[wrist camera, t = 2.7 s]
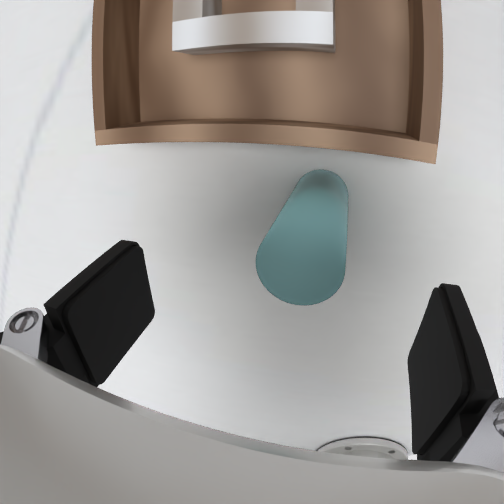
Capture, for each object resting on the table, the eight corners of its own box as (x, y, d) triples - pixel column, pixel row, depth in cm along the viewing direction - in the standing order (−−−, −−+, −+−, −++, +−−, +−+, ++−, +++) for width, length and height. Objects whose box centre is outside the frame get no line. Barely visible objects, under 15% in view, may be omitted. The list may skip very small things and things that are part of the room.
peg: (350, 172, 20) (350, 231, 12) (345, 223, 22) (338, 311, 13) (296, 167, 21) (256, 220, 12) (293, 217, 23) (255, 298, 14)
